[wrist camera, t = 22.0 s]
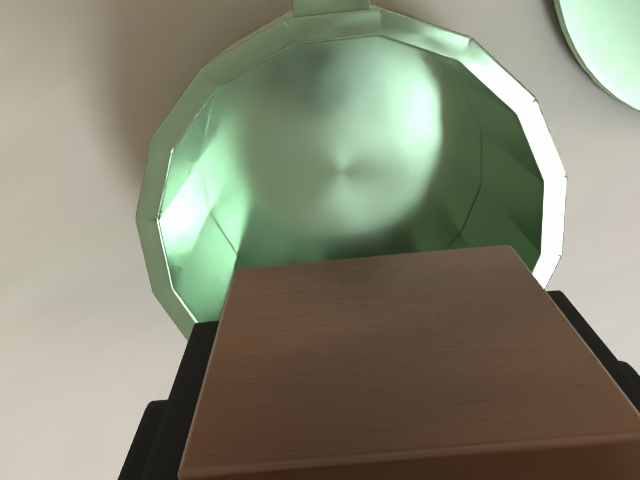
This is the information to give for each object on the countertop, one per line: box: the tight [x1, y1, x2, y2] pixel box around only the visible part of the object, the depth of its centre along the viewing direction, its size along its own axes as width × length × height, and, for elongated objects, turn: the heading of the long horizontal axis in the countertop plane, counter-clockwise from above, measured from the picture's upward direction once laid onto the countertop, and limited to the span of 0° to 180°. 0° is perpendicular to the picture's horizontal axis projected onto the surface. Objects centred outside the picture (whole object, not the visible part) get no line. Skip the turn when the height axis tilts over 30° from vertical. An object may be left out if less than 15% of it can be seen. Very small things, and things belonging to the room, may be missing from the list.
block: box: [177, 245, 640, 480], centre depth 9 cm, size 5×5×5 cm
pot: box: [136, 0, 567, 341], centre depth 25 cm, size 15×20×8 cm
